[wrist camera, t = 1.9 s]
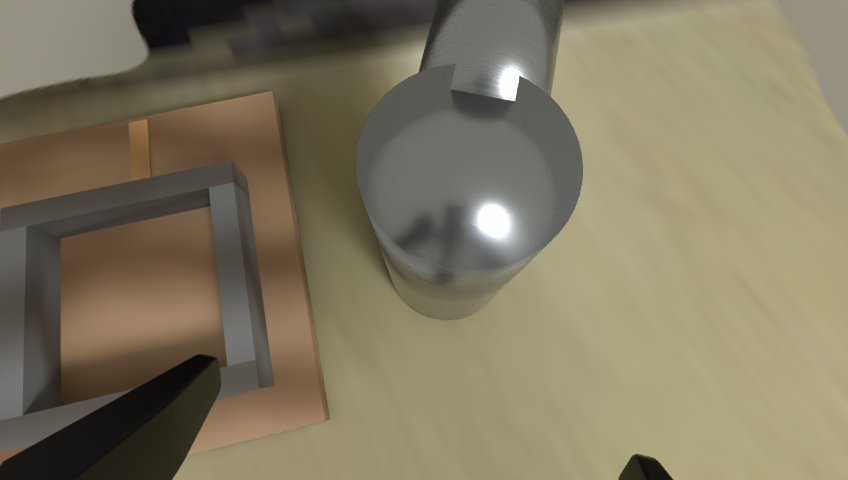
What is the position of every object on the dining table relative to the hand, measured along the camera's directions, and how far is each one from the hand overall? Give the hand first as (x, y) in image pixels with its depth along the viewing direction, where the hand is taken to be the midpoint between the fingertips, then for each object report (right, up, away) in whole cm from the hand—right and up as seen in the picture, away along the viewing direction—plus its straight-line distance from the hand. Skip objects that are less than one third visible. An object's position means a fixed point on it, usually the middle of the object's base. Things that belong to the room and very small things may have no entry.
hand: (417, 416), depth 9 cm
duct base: (-14, +2, +13) cm, 19 cm away
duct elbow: (+2, +4, +14) cm, 15 cm away
